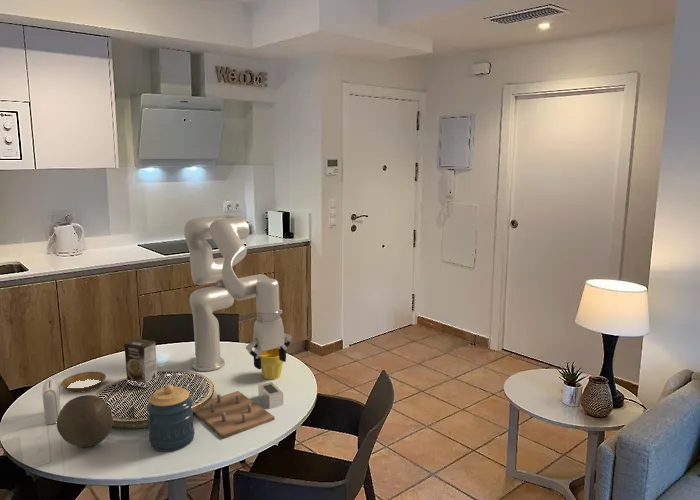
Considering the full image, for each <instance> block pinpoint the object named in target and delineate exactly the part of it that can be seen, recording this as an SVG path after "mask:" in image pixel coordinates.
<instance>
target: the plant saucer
mask: <svg viewBox="0 0 700 500" xmlns="http://www.w3.org/2000/svg"><path fill="white" fill-rule="evenodd" d="M106 378H107V375H106V373H104V372H100V371H85V372H84V371H83V372H79V373H75V374H72V375H70V376H67V377H66V378H64V379H63V380H62V381H61V383H60V386H61V387H63V389H65V390H66V391H69V392H71V393H83V392H82V391H85V392H89V391H92V390H95V389H97V388H98V387H99V386H100V385H102V384H103V382H104V381H105V379H106ZM87 379H89V380H90V379H91V380H93V379H94V380H99V381H101V382H99V383H97V384H95V385H92V386H89V387H84V388H67V387H68V386H69V385H70V384H71V383H74V382H76V381H79V380H80V381H85V380H87ZM96 387H97V388H96ZM94 388H95V389H94ZM91 389H92V390H91ZM88 390H89V391H88Z"/></svg>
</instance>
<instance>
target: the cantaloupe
mask: <svg viewBox="0 0 700 500" xmlns="http://www.w3.org/2000/svg"><path fill="white" fill-rule="evenodd" d="M113 424H114V419H113V415H112V409H111V407H110V406H109V404H108V403H106V402H105V401H104V399H102V398H101V397H99V396H98V395H97V396H96V395H92V394H89V395H88V394H85V395H80V396H76V397H74V398H72V399H70V400H68V401H67V402H66V403H65V404H64V405H63V406H62V408H61V411H60V413H59V415H58V418H57V423H56V429H57V431H58V433H59V435H60V436H61V438H62V439H63V440H64V441H65V442H66V443H68V444H70V445H72V446H75V447H78V448H86V447H92V446H96V445H97V444H99V443H101V442H102V441H104V440H105V439H106V438H107V437H108V436H109V434H110V433H111V430H112V427H113Z"/></svg>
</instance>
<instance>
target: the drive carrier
mask: <svg viewBox="0 0 700 500" xmlns="http://www.w3.org/2000/svg"><path fill="white" fill-rule="evenodd" d="M257 389H258V390H257V391H258V392H257V394H258V396H257V397H258V398H259V399H260V400H261V401H262V402H263V403H264V404H265V405H266V406H267V407H268V408H269V409H273V408H277V407H281V406H284V392H283V391H282V390H280V389H279V387H277V386H276V385H275V384H274V383H273V382H272V381H270V382H267V383H263V384H258V385H257Z"/></svg>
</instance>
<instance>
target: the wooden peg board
mask: <svg viewBox="0 0 700 500" xmlns="http://www.w3.org/2000/svg"><path fill="white" fill-rule="evenodd" d="M209 400H210V401H209V402H208V403H207V404H206V405H205V406H204V407H203V408H202V409H201V410H199V411H198V412H196V414H195V416H197V417H198V418H199V419H200V420H201V421H203V423H204V424H205V425H207V426H208V427H209V428H210V429H212V431H213V432H215V434H217V435H218V436H219V437H221V439H227V438H230V437H232V436H236V435H237V434H240V433H243V432H244V431H245V432H246V431H248V430H251V429H254V428H257V427H259V426H261V425H263V424H266V423H269V422H272V421H275V418H276V417H275V415H273V414H271V413H270V412H269V411H267V410H266V409H264V408H263V407H261V406H260V405H259V404H257V403H256V402H254V401H253V400H252V399H250V398H249V397H247V395H244V394H243V393H242V392H240V391H239V390H237V391H234V392H231V393H230V392H229V393H227V394H224V395H221V394H217V395H216V397H215V398H212V399H209Z"/></svg>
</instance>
